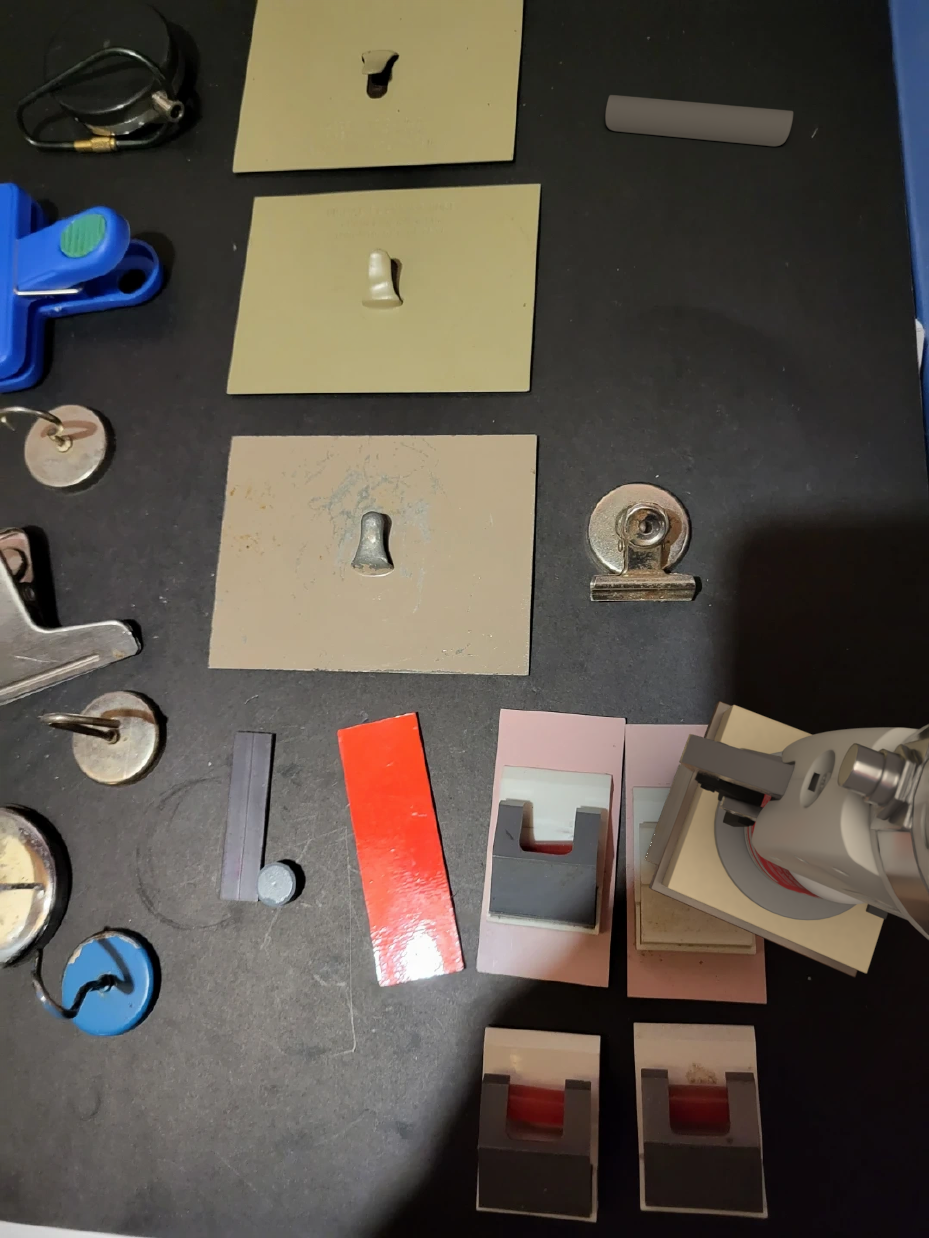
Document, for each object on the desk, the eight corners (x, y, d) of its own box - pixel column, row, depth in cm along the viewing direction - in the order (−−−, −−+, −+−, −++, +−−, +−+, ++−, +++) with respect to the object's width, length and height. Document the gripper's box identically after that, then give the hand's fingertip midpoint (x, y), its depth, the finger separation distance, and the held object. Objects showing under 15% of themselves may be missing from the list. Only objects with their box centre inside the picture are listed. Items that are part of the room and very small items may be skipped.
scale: (907, 781, 51) (932, 778, 47) (849, 965, 49) (870, 975, 45) (724, 711, 53) (735, 702, 49) (661, 884, 51) (668, 888, 47)
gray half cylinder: (609, 99, 96) (610, 85, 94) (791, 115, 93) (795, 101, 91) (603, 131, 95) (603, 118, 93) (785, 148, 92) (790, 135, 90)
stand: (799, 794, 77) (918, 776, 51) (754, 925, 75) (855, 977, 49) (668, 742, 79) (719, 700, 53) (622, 868, 77) (650, 888, 51)
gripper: (680, 840, 25) (635, 835, 41) (1349, 1121, 22) (1010, 994, 38) (765, 605, 26) (689, 691, 43) (1409, 835, 23) (1056, 832, 39)
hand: (840, 834), depth 40 cm, fingers open, 9 cm apart
